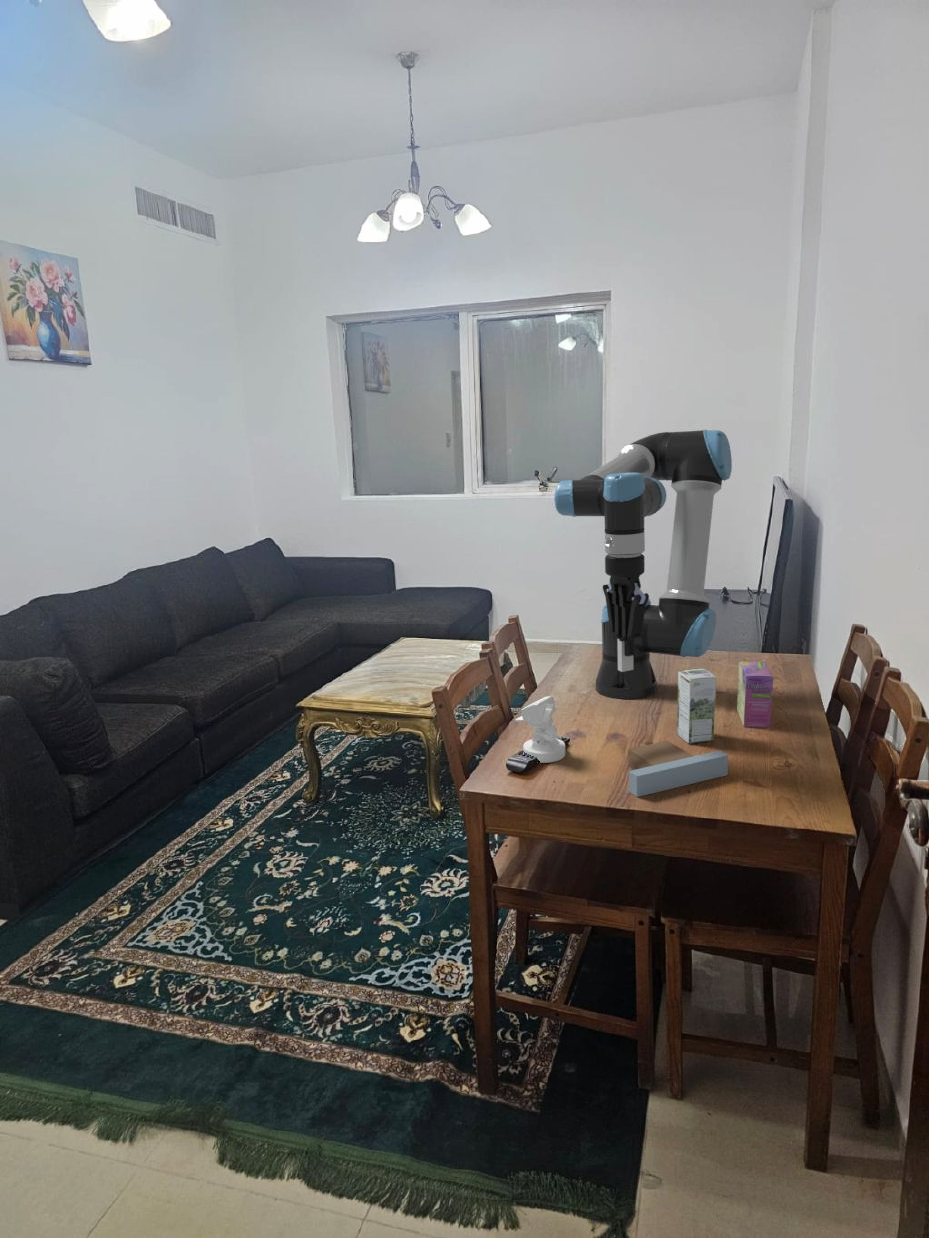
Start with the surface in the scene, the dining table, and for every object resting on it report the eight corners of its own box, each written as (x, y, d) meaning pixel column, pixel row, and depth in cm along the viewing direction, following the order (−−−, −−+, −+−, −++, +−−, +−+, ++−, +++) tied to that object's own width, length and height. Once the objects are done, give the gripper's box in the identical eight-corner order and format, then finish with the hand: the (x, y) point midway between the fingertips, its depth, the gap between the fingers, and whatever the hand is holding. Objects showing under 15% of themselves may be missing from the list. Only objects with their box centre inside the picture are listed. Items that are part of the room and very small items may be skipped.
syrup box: (701, 731, 166) (702, 667, 162) (714, 741, 160) (716, 675, 157) (676, 734, 165) (677, 669, 161) (688, 745, 159) (690, 678, 156)
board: (628, 791, 140) (628, 771, 139) (718, 769, 147) (719, 750, 146) (636, 797, 138) (636, 776, 137) (727, 774, 145) (728, 755, 144)
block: (628, 767, 151) (628, 748, 150) (667, 759, 153) (667, 740, 153) (654, 786, 142) (654, 766, 141) (695, 777, 145) (695, 757, 144)
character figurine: (550, 766, 152) (549, 708, 150) (511, 756, 158) (508, 700, 155) (573, 750, 159) (572, 695, 156) (534, 741, 165) (532, 688, 162)
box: (771, 728, 166) (773, 675, 163) (743, 727, 167) (745, 675, 164) (763, 711, 176) (765, 661, 173) (736, 710, 177) (738, 661, 174)
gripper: (590, 552, 154) (592, 664, 160) (626, 561, 142) (627, 682, 148) (622, 547, 157) (623, 658, 162) (660, 556, 145) (660, 675, 150)
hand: (625, 669), depth 155 cm, fingers closed
